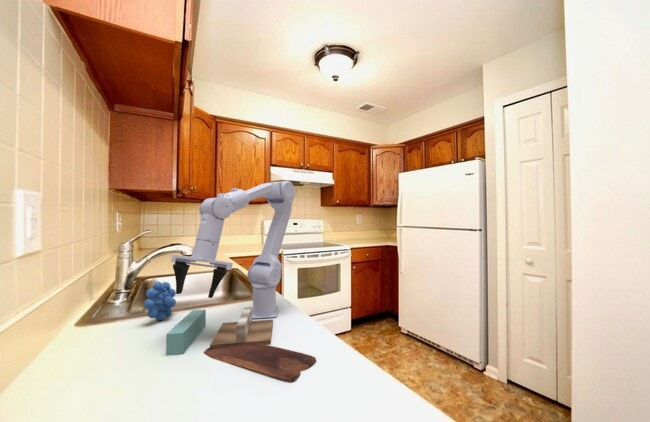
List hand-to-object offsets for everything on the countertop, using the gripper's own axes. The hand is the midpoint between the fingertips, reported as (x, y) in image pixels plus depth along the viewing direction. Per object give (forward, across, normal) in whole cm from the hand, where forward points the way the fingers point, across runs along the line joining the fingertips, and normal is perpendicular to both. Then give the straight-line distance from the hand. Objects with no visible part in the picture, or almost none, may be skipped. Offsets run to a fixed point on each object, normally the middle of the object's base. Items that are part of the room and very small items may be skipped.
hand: (194, 295), depth 67 cm
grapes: (+11, -12, +19) cm, 25 cm away
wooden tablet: (+11, +18, -7) cm, 22 cm away
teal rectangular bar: (+11, 0, +5) cm, 12 cm away
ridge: (+9, +14, +4) cm, 17 cm away
